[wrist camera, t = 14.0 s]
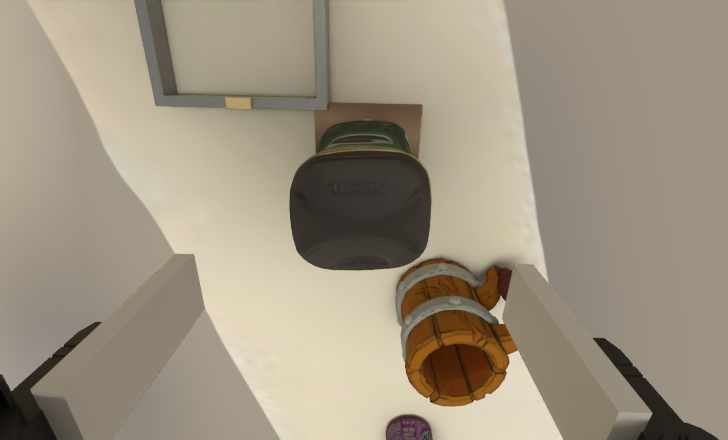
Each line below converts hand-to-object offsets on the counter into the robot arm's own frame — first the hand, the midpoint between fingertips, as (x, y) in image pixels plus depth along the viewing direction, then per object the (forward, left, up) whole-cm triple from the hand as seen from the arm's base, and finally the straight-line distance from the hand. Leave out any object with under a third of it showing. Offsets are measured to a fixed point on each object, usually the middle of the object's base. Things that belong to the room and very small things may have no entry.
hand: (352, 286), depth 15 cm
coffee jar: (0, 0, -25) cm, 25 cm away
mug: (+17, +12, -26) cm, 33 cm away
